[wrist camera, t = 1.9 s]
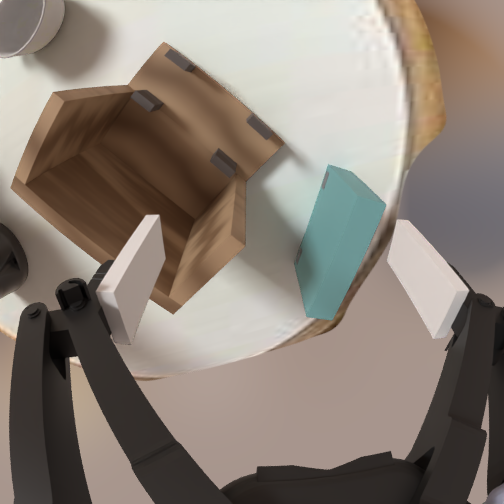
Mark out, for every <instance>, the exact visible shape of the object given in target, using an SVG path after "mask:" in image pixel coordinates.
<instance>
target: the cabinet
mask: <svg viewBox="0 0 504 504" xmlns="http://www.w3.org/2000/svg"><path fill="white" fill-rule="evenodd" d="M284 144H285V143H284V141H283V140H282V139H281V138H280V137H279V136H278V135H277V134H275V133H274V132H273V131H272V130H271V129H270V128H269V127H268V126H267V125H266V124H265V123H264V122H262V121H261V120H260V119H259V118H258V117H257V116H256V115H255V114H254V113H252V112H251V111H250V110H249V109H248V108H247V107H246V106H245V105H243V104H242V103H241V102H240V101H239V100H238V99H236V98H235V97H234V96H233V95H232V94H231V93H229V92H228V91H227V90H226V89H225V88H223V87H222V86H221V85H220V84H219V83H217V82H216V81H215V80H214V79H213V78H211V77H210V76H209V75H208V74H206V73H205V72H204V71H203V70H201V69H200V68H199V67H197V66H196V65H195V64H194V63H192V62H191V61H190V60H188V59H187V58H186V57H184V56H183V55H182V54H180V53H179V52H178V51H176V50H175V49H174V48H172V47H171V46H170V45H168V44H167V43H165V42H163V43H162V44H161V45H160V46H159V47H158V48H157V50H156V51H155V52H154V53H153V54H152V55H151V57H150V58H149V59H148V60H147V61H146V63H145V64H144V65H143V66H142V67H141V69H140V70H139V71H138V72H137V74H136V75H135V76H134V78H133V79H132V80H131V81H130V83H129V84H128V85H120V86H104V87H92V88H81V89H73V90H65V91H57V92H53V93H52V95H51V97H50V98H49V100H48V102H47V104H46V106H45V108H44V110H43V112H42V114H41V116H40V118H39V120H38V122H37V124H36V126H35V128H34V130H33V132H32V135H31V137H30V139H29V141H28V144H27V146H26V148H25V151H24V153H23V156H22V158H21V161H20V163H19V166H18V168H17V171H16V174H15V176H14V179H13V182H12V185H11V189H12V190H13V191H14V192H15V193H16V194H17V195H18V196H20V197H21V198H22V199H23V200H24V201H25V202H26V203H27V204H28V205H30V206H31V207H32V208H33V209H34V210H35V211H36V212H37V213H39V214H40V215H41V216H42V217H43V218H44V219H46V220H47V221H48V222H49V223H50V224H51V225H53V226H54V227H55V228H56V229H57V230H59V231H60V232H61V233H62V234H63V235H65V236H66V237H67V238H68V239H70V240H71V241H72V242H73V243H75V244H76V245H77V246H78V247H80V248H81V249H82V250H83V251H85V252H86V253H87V254H89V255H90V256H91V257H92V258H94V259H95V260H96V261H98V262H99V263H100V264H103V263H105V262H106V261H107V260H116V258H117V257H118V255H119V254H120V252H121V251H122V249H123V248H124V246H125V245H126V243H127V242H128V240H129V239H130V237H131V236H132V234H133V233H134V232H135V230H136V229H137V227H138V226H139V224H140V223H141V222H142V220H143V219H144V217H145V216H146V215H160V222H161V230H162V237H163V244H164V251H165V258H166V259H165V261H164V264H163V266H162V268H161V271H160V273H159V275H158V278H157V280H156V283H155V285H154V288H153V290H152V292H151V295H150V297H149V299H151V300H152V301H154V302H155V303H157V304H158V305H160V306H161V307H163V308H164V309H166V310H167V311H169V312H170V313H172V314H174V313H175V312H176V311H177V310H178V309H180V308H181V307H182V306H183V305H184V304H185V303H186V302H187V301H188V300H189V299H190V298H191V297H192V296H193V295H194V294H195V293H196V292H197V291H198V290H200V289H201V288H202V287H203V286H204V285H205V284H206V283H207V282H208V281H209V280H210V279H211V278H212V277H213V276H214V275H215V274H216V273H217V272H219V271H220V270H221V269H222V268H223V267H224V266H225V265H226V264H227V263H228V262H229V261H230V260H231V259H232V258H233V257H234V256H235V255H237V254H238V253H239V252H240V251H241V250H242V249H243V248H244V247H245V223H246V181H247V180H248V179H249V178H250V177H251V176H252V175H253V174H254V173H255V172H256V171H257V170H258V169H259V168H260V167H261V166H262V165H263V164H264V163H265V162H266V161H267V160H268V159H269V158H270V157H271V156H272V155H273V154H274V153H275V152H276V151H277V150H278V149H279V148H280V147H281V146H283V145H284Z"/></svg>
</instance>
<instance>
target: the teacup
mask: <svg viewBox="0 0 504 504" xmlns="http://www.w3.org/2000/svg"><path fill="white" fill-rule="evenodd" d="M64 13H65V6H64V1H63V0H2V1H1V3H0V58H10V57H13V56H20V55H26V54H30V53H34V52H36V51H38V50H40V49H42V48H43V47H45V46H46V45H47V44H48V43H49V42H50V41H51V40H52V39H53V38H54V36H55V35H56V34H57V32H58V30H59V29H60V27H61V24H62V22H63V18H64Z"/></svg>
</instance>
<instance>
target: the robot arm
mask: <svg viewBox="0 0 504 504" xmlns="http://www.w3.org/2000/svg"><path fill="white" fill-rule="evenodd" d="M165 259H166V258H165V251H164V244H163V237H162V230H161V222H160V215H146V216H145V217H144V219H143V220H142V222H141V223H140V224H139V226H138V227H137V229H136V230H135V232H134V233H133V234H132V236H131V237H130V239H129V240H128V242H127V243H126V245H125V246H124V248H123V249H122V251H121V252H120V254H119V255H118V257H117V258H116V260H107V261H106V262H105V263H103V264H102V265H101V266H100V267H99V269H98V270H97V272H96V274H95V275H94V276H93V277H92V279H91V281H90V282H89V284H88V285H86V282H85V281H84V280H83V279H80V278H73V279H69V280H66V281H65V282H63V283H61V284H60V285H59V286H58V287H57V289H56V293H55V295H56V297H57V300H58V302H59V304H60V307H61V310H55V311H48V309H47V307H46V305H45V304H44V303H40V302H39V303H33V304H31V305H29V306H27V307H26V308H25V309H24V310H23V311H22V314H21V316H20V321H19V327H18V332H17V338H16V345H15V352H14V359H13V368H12V379H11V391H10V413H9V415H10V416H9V438H10V458H11V459H10V460H11V472H12V481H13V489H14V496H15V498H14V504H92V502H91V498H90V494H89V490H88V486H87V482H86V478H85V474H84V469H83V465H82V460H81V456H80V450H79V445H78V438H77V432H76V425H75V418H74V410H73V401H72V391H71V378H70V360H69V357H76V356H78V357H79V360H80V363H81V365H82V368H83V370H84V372H85V375H86V377H87V379H88V382H89V384H90V386H91V389H92V391H93V393H94V395H95V397H96V399H97V402H98V404H99V406H100V408H101V410H102V412H103V414H104V416H105V418H106V420H107V422H108V423H109V426H110V427H111V429H112V431H113V433H114V435H115V437H116V438H117V440H118V442H119V444H120V446H121V447H122V449H123V451H124V453H125V454H126V456H127V457H128V459H129V461H130V463H131V466H132V469H133V471H134V473H135V475H136V477H137V478H138V480H139V481H140V483H141V484H142V486H143V487H144V489H145V490H146V492H147V493H148V494H149V496H150V497H151V499H152V500H153V501H154V503H155V504H471V503H469V502H468V501H467V499H468V496H469V494H470V491H471V488H472V486H473V483H474V480H475V477H476V474H477V471H478V467H479V464H480V461H481V457H482V453H483V450H484V446H485V442H486V437H487V433H486V431H485V430H482V429H481V425H482V421H483V416H484V411H485V406H486V400H487V396H488V400H489V457H488V470H487V494H488V497H487V500H486V502H484V503H483V504H504V307H503V308H502V307H497V306H495V304H494V302H493V301H492V300H491V299H490V298H489V297H488V296H485V295H484V294H479V293H477V294H476V293H475V292H474V291H473V289H472V288H471V287H470V286H469V284H468V283H467V282H466V281H465V280H464V279H463V277H462V276H461V275H459V272H458V271H457V270H456V269H455V268H454V267H453V266H452V265H450V264H449V263H448V262H446V261H445V260H444V259H443V258H442V257H441V256H440V254H439V253H438V252H437V251H436V250H435V249H434V248H433V246H432V245H431V244H430V243H429V242H428V241H427V240H426V239H425V238H424V237H423V235H422V234H421V233H420V232H419V231H418V230H417V229H416V228H415V227H414V226H413V225H412V224H411V223H410V222H409V221H408V220H397V222H396V226H395V230H394V235H393V239H392V243H391V247H390V251H389V254H388V258H387V262H388V263H389V265H390V267H391V268H392V270H393V271H394V273H395V274H396V276H397V278H398V279H399V281H400V282H401V284H402V286H403V287H404V289H405V290H406V292H407V294H408V295H409V297H410V299H411V301H412V302H413V304H414V306H415V307H416V309H417V311H418V312H419V314H420V316H421V318H422V319H423V321H424V323H425V325H426V326H427V328H428V330H429V332H430V334H431V336H432V337H433V339H438V338H445V337H446V336H447V334H448V332H449V330H450V329H451V328H452V329H453V331H454V335H453V337H452V338H451V340H450V342H449V344H448V345H447V347H446V349H445V351H447V350H448V353H447V356H446V360H445V363H444V366H443V370H442V373H441V376H440V379H439V382H438V385H437V388H436V391H435V394H434V397H433V400H432V402H431V405H430V407H429V410H428V413H427V415H426V418H425V420H424V423H423V425H422V427H421V430H420V432H419V434H418V437H417V439H416V441H415V443H414V445H413V448H412V450H411V452H410V453H409V455H408V456H407V457H406V459H405V460H402V459H395V458H392V454H391V451H389V452H384V453H380V454H375V455H370V456H364V457H360V458H358V459H356V460H353V461H351V462H348V463H346V464H344V465H341V466H339V467H336V468H333V469H330V470H324V469H315V468H307V467H300V466H294V465H289V466H266V467H265V466H259V467H257V472H256V473H255V474H251V475H247V476H244V477H241V478H239V479H237V480H234V481H232V482H231V483H229V484H227V485H226V486H224V487H223V488H222V489H220V490H219V489H218V487H217V486H216V485H215V484H214V483H213V482H212V481H211V480H210V479H209V477H208V476H207V475H206V474H205V473H204V472H203V470H202V469H201V468H200V467H199V466H198V465H197V463H196V462H195V461H194V460H193V459H192V457H191V456H190V455H189V454H188V452H187V451H186V450H185V449H184V447H183V446H182V445H181V444H180V443H179V442H177V441H176V440H175V439H174V437H173V436H172V434H171V433H170V432H169V430H168V429H167V428H166V426H165V425H164V423H163V422H162V421H161V419H160V418H159V417H158V415H157V414H156V412H155V410H154V409H153V408H152V406H151V405H150V403H149V402H148V400H147V399H146V397H145V395H144V394H143V392H142V391H141V389H140V388H139V386H138V385H137V383H136V381H135V380H134V378H133V376H132V375H131V373H130V371H129V370H128V368H127V366H126V364H125V363H124V361H123V359H122V358H121V356H120V354H119V352H118V350H117V349H116V347H115V345H114V343H113V341H112V339H111V338H110V335H111V334H112V337H113V339H114V342H115V343H119V344H128V345H131V344H132V342H133V339H134V336H135V334H136V331H137V328H138V326H139V323H140V320H141V318H142V315H143V313H144V310H145V307H146V305H147V302H148V300H149V297H150V295H151V292H152V290H153V288H154V285H155V283H156V280H157V278H158V275H159V273H160V271H161V268H162V266H163V264H164V261H165ZM27 274H28V265H27V260H26V257H25V254H24V251H23V249H22V247H21V245H20V243H19V242H18V240H17V239H16V237H15V236H14V235H13V233H12V232H11V231H10V230H9V229H8V228H6V227H5V226H4V225H2V224H1V223H0V299H1V298H3V297H4V296H6V295H8V294H10V293H12V292H14V291H16V290H17V289H18V288H19V287H20V286H21V285H22V284H23V283H24V281H25V280H26V278H27ZM448 348H449V349H448Z"/></svg>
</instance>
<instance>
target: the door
mask: <svg viewBox="0 0 504 504" xmlns="http://www.w3.org/2000/svg"><path fill="white" fill-rule="evenodd" d="M385 207H386V204H385V203H384V202H383V201H382V200H381V199H380V198H379V197H378V196H377V195H376V194H375V193H374V192H373V191H372V190H371V189H370V188H369V187H368V186H367V185H366V184H364V183H363V182H362V181H361V180H360V179H359V178H358V177H357V176H356V175H355V174H354V173H352V172H351V171H348V170H345V169H342V168H338V167H335V166H332V165H328V167H327V170H326V173H325V176H324V179H323V182H322V185H321V188H320V191H319V194H318V197H317V200H316V203H315V206H314V209H313V212H312V215H311V218H310V221H309V223H308V226H307V229H306V232H305V235H304V238H303V241H302V243H301V246H300V249H299V252H298V254H297V257H296V260H295V263H294V265H295V269H296V273H297V277H298V282H299V286H300V290H301V295H302V299H303V303H304V308H305V312H306V317H311V318H318V319H325V320H333V318H334V316H335V314H336V312H337V310H338V308H339V306H340V305H341V303H342V301H343V299H344V297H345V295H346V293H347V291H348V289H349V287H350V285H351V283H352V281H353V279H354V277H355V275H356V272H357V270H358V268H359V266H360V264H361V262H362V260H363V258H364V255H365V253H366V251H367V249H368V247H369V244H370V242H371V240H372V238H373V235H374V233H375V231H376V229H377V226H378V224H379V222H380V219H381V217H382V214H383V212H384V210H385Z"/></svg>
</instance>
